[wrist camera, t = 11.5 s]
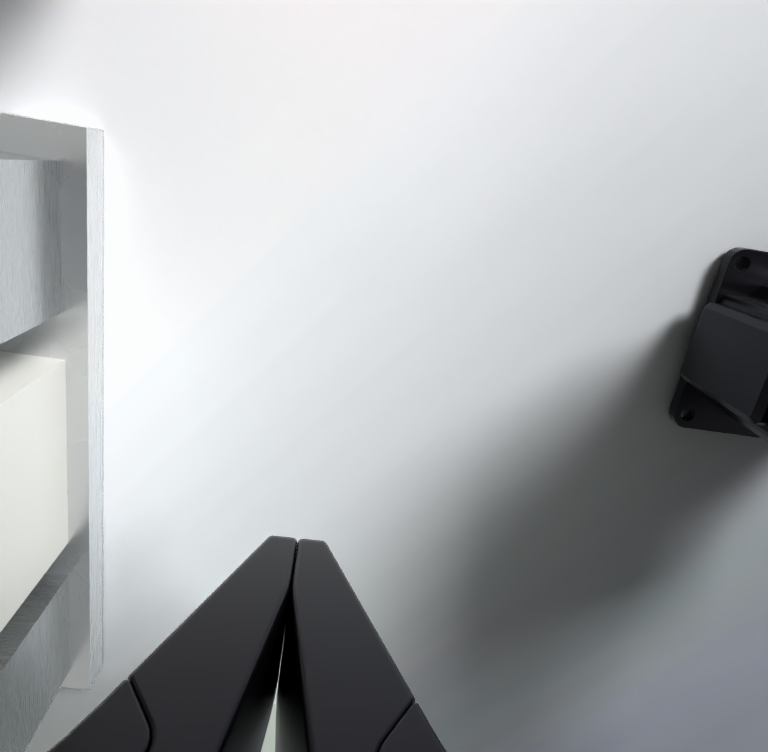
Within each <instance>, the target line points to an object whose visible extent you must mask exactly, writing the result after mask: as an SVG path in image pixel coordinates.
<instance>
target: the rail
mask: <svg viewBox="0 0 768 752" xmlns="http://www.w3.org/2000/svg"><path fill="white" fill-rule="evenodd" d="M103 157H104V130H99V129H94V128H88V127H82V126H76V125H70V124H65V123H59V122H53V121H47V120H41V119H35V118H30V117H24V116H18V115H12V114H6V113H0V351H3V352H11V353H18V354H25V355H33V356H40V357H47V358H55V359H62V360H65V362H66V428H67V495H68V544H67V545H66V546H65V548H64V549H63V550H62V552H61V553H60V554H59V556H58V557H57V558H56V560H55V561H54V562H53V564H52V565H51V566H50V567H49V569H48V570H47V571H46V573H45V574H44V575H43V577H42V578H41V579H40V581H39V582H38V583H37V585H36V586H35V587H34V589H33V590H32V591H31V593H30V594H29V595H28V597H27V598H26V599H25V601H24V602H23V603H22V605H21V606H20V607H19V609H18V610H17V611H16V613H15V614H14V615H13V616H12V618H11V619H10V620H9V622H8V623H7V624H6V626H5V627H4V628H3V630H2V631H1V632H0V752H24V751H25V749H26V747H27V745H28V744H29V742H30V740H31V738H32V736H33V735H34V733H35V731H36V729H37V728H38V726H39V724H40V722H41V720H42V719H43V717H44V715H45V713H46V712H47V710H48V708H49V706H50V704H51V703H52V701H53V699H54V697H55V695H56V694H57V692H58V690H59V688H60V687H62V688H75V689H88V690H90V689H91V687H92V685H93V683H94V681H95V679H96V677H97V675H98V673H99V671H100V669H101V667H102V624H103Z"/></svg>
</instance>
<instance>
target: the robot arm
mask: <svg viewBox="0 0 768 752" xmlns="http://www.w3.org/2000/svg"><path fill="white" fill-rule="evenodd" d="M741 257H742V258H743V264H742V265H741V267H740V268H738V269H736V267H735V266H736V262H737V260H738V259H739V258H741ZM685 409H689V412H688V413H687V415H685V416H683V417H681V414H682V412H683V411H684V410H685ZM669 416H670V418H671V419H672V420H673V421H674V422H675V423H676V424H677V425H679V426H681V427H685V428H693V429H700V430H708V431H715V432H723V433H730V434H737V435H745V436H752V437H760V438H763V439H764V440H766V441H767V442H768V252H764V251H758V250H753V249H747V248H734V249H731V250H729V251H728V252H727V253H726V254H725V255H724V257H723V259H722V261H721V264H720V267H719V270H718V273H717V275H716V278H715V281H714V284H713V287H712V290H711V292H710V295H709V298H708V301H707V304H706V306H705V307H704V308H703V309H702V312H701V315H700V318H699V320H698V323H697V326H696V329H695V332H694V335H693V337H692V340H691V343H690V346H689V349H688V352H687V355H686V357H685V360H684V363H683V366H682V369H681V377H680V380H679V383H678V386H677V389H676V392H675V394H674V397H673V400H672V403H671V406H670V409H669ZM296 548H297V549H296ZM295 555H296V556H295ZM282 649H283V650H282ZM281 656H282V657H281ZM280 663H281V665H280ZM279 670H280V672H279ZM278 677H279V680H278ZM277 683H278V689H277ZM276 689H277V700H276V732H275V752H446V750H445V749H444V747H443V745H442V744H441V742H440V740H439V739H438V737H437V736H436V734H435V732H434V731H433V729H432V727H431V726H430V724H429V722H428V720H427V719H426V717H425V715H424V713H423V711H422V710H421V708H420V706H419V704H418V703H415V698H414V696H413V694H412V693H411V691H410V689H409V687H408V686H407V684H406V682H405V680H404V679H403V677H402V675H401V673H400V672H399V670H398V668H397V666H396V665H395V663H394V661H393V659H392V658H391V656H390V654H389V652H388V651H387V649H386V647H385V645H384V644H383V642H382V640H381V638H380V637H379V635H378V633H377V631H376V630H375V628H374V626H373V624H372V623H371V621H370V619H369V617H368V616H367V614H366V612H365V610H364V608H363V607H362V605H361V603H360V601H359V600H358V598H357V596H356V594H355V593H354V591H353V589H352V587H351V586H350V584H349V582H348V580H347V579H346V577H345V575H344V573H343V572H342V570H341V568H340V566H339V565H338V563H337V561H336V559H335V558H334V556H333V554H332V552H331V551H330V549H329V547H328V545H327V544H326V543H325V542H324V541H319V540H309V539H300V540H299V541H298V543H297V541H296V539H295V538H290V537H281V536H270V537H268V538H267V539H266V540H265V541H264V542H263V543H262V544H261V545H260V546H259V547H258V548H257V549H256V550H255V551H254V552H253V553H252V554H251V555H250V556H249V557H248V558H247V559H246V560H245V561H244V562H243V563H242V564H241V565H240V566H239V567H238V568H237V569H236V570H235V571H234V572H233V573H232V574H231V575H230V576H229V577H228V578H227V579H226V580H225V581H224V582H223V583H222V584H221V585H220V586H219V587H218V588H217V589H216V590H215V591H214V592H213V593H212V594H211V595H210V596H209V597H208V598H207V599H206V600H205V601H204V602H203V603H202V604H201V605H200V606H199V607H198V608H197V609H196V610H195V611H194V612H193V613H192V614H191V615H190V616H189V617H188V618H187V619H186V620H185V621H184V622H183V623H182V624H181V625H180V626H179V627H178V628H177V629H176V630H175V631H174V632H173V633H172V634H171V635H170V636H169V637H168V638H167V639H166V640H165V641H164V642H163V643H162V644H161V645H160V646H159V647H158V648H157V649H156V650H155V651H154V652H153V653H152V654H151V655H150V656H149V657H148V658H147V659H146V660H145V661H144V662H143V663H142V664H141V665H139V666H138V667H137V668H136V669H135V670H134V671H133V672H132V673H131V674H130V675H129V677H128V680H124V681H123V682H122V683H121V684H120V685H119V686H118V687H117V688H116V689H115V690H114V691H113V692H112V693H111V694H110V695H109V696H108V697H107V698H106V699H105V700H104V701H103V702H102V703H101V704H100V705H99V706H98V707H97V708H95V709H94V710H93V711H92V712H91V713H90V714H89V715H88V716H87V717H86V718H85V719H84V720H83V721H82V722H81V723H80V724H78V725H77V726H76V727H75V728H74V729H73V730H72V731H71V732H70V733H69V734H68V735H67V736H65V737H64V738H63V739H62V740H61V741H60V742H58V743H57V744H56V745H55V746H54V747H53V748H51V749H50V750H49V751H48V752H261V750H262V746H263V742H264V738H265V735H266V731H267V727H268V723H269V720H270V716H271V712H272V708H273V703H274V699H275V695H276Z"/></svg>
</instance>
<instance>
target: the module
mask: <svg viewBox="0 0 768 752" xmlns="http://www.w3.org/2000/svg"><path fill="white" fill-rule="evenodd" d="M67 544H68V495H67V428H66V362H65V360H62V359H55V358H47V357H40V356H33V355H25V354H18V353H11V352H3V351H0V632H1V631H2V630H3V628H4V627H5V626H6V624H7V623H8V622H9V620H10V619H11V618H12V616H13V615H14V614H15V613H16V611H17V610H18V609H19V607H20V606H21V605H22V603H23V602H24V601H25V599H26V598H27V597H28V595H29V594H30V593H31V591H32V590H33V589H34V587H35V586H36V585H37V583H38V582H39V581H40V579H41V578H42V577H43V575H44V574H45V573H46V571H47V570H48V569H49V567H50V566H51V565H52V564H53V562H54V561H55V560H56V558H57V557H58V556H59V554H60V553H61V552H62V550H63V549H64V548H65V546H66V545H67Z"/></svg>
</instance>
